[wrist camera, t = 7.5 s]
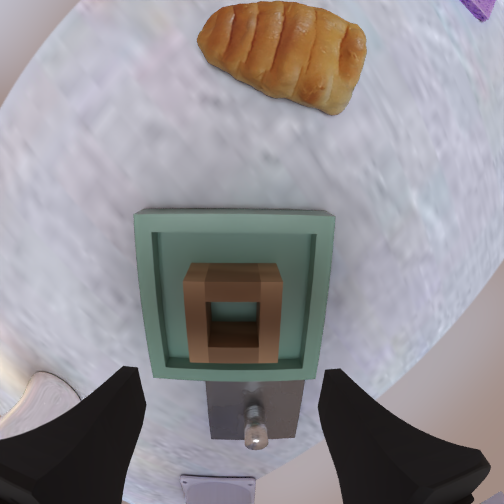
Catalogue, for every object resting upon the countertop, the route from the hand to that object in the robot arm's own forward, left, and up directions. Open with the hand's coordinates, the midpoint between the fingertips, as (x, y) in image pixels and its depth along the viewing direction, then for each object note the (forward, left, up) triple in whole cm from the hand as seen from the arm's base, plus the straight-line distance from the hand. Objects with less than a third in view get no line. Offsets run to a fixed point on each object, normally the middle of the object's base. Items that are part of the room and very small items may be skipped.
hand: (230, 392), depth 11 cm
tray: (0, 0, -9) cm, 9 cm away
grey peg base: (-9, -2, -9) cm, 13 cm away
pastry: (+15, -3, -10) cm, 18 cm away
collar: (0, 0, -8) cm, 8 cm away
